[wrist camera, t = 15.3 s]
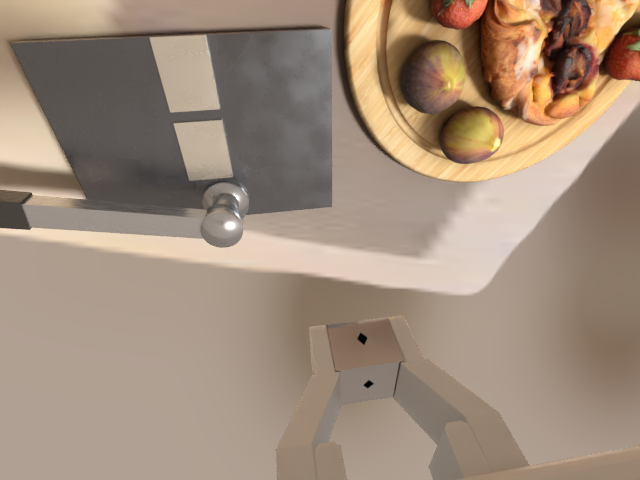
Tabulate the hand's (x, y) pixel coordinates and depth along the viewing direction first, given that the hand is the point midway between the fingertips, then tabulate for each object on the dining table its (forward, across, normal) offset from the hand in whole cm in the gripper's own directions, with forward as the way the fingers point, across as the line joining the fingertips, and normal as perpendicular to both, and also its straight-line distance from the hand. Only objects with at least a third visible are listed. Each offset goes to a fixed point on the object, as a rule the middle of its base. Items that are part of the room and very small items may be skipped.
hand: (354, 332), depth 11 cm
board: (+29, +9, +3) cm, 31 cm away
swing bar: (+23, +16, +8) cm, 30 cm away
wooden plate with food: (+30, -21, -6) cm, 37 cm away
